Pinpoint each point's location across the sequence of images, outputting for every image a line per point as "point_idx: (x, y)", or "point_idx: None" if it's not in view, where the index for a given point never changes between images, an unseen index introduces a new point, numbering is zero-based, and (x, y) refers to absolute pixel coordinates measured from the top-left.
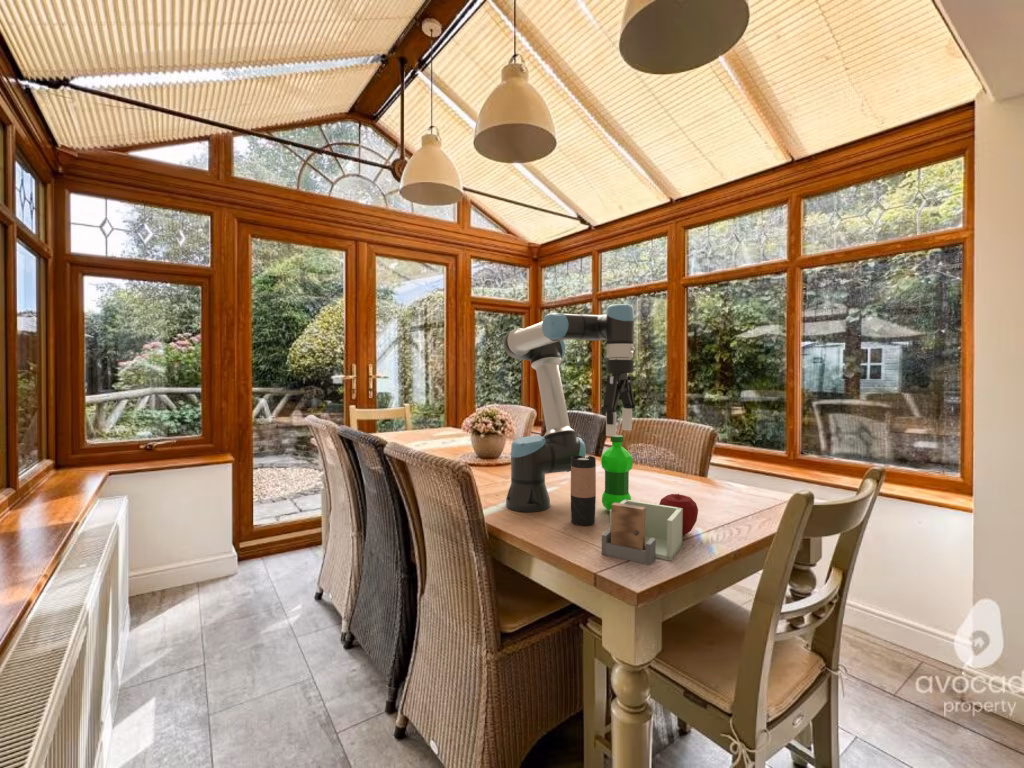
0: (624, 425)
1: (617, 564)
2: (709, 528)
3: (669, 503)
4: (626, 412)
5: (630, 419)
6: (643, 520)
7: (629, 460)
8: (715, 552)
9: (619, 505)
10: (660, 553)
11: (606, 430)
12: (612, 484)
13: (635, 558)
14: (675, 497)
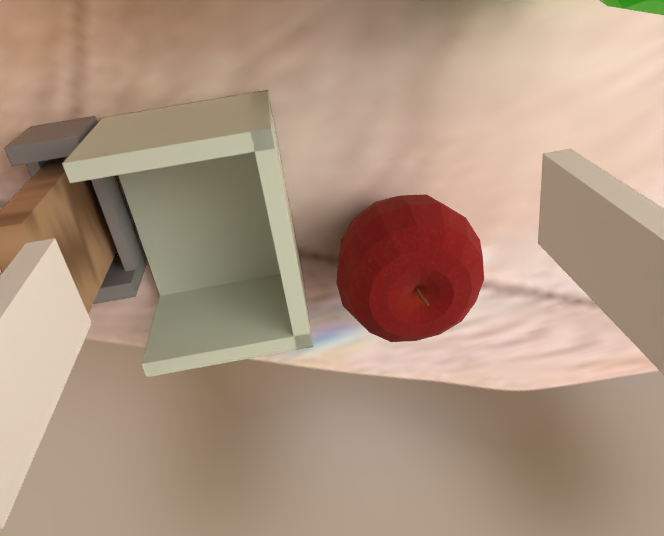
0: (565, 198)
1: None
2: (499, 279)
3: (359, 282)
4: (659, 305)
5: (600, 299)
6: None
7: (659, 11)
8: (311, 352)
9: (2, 261)
10: (162, 277)
11: (6, 277)
12: None
13: None
14: (430, 281)
